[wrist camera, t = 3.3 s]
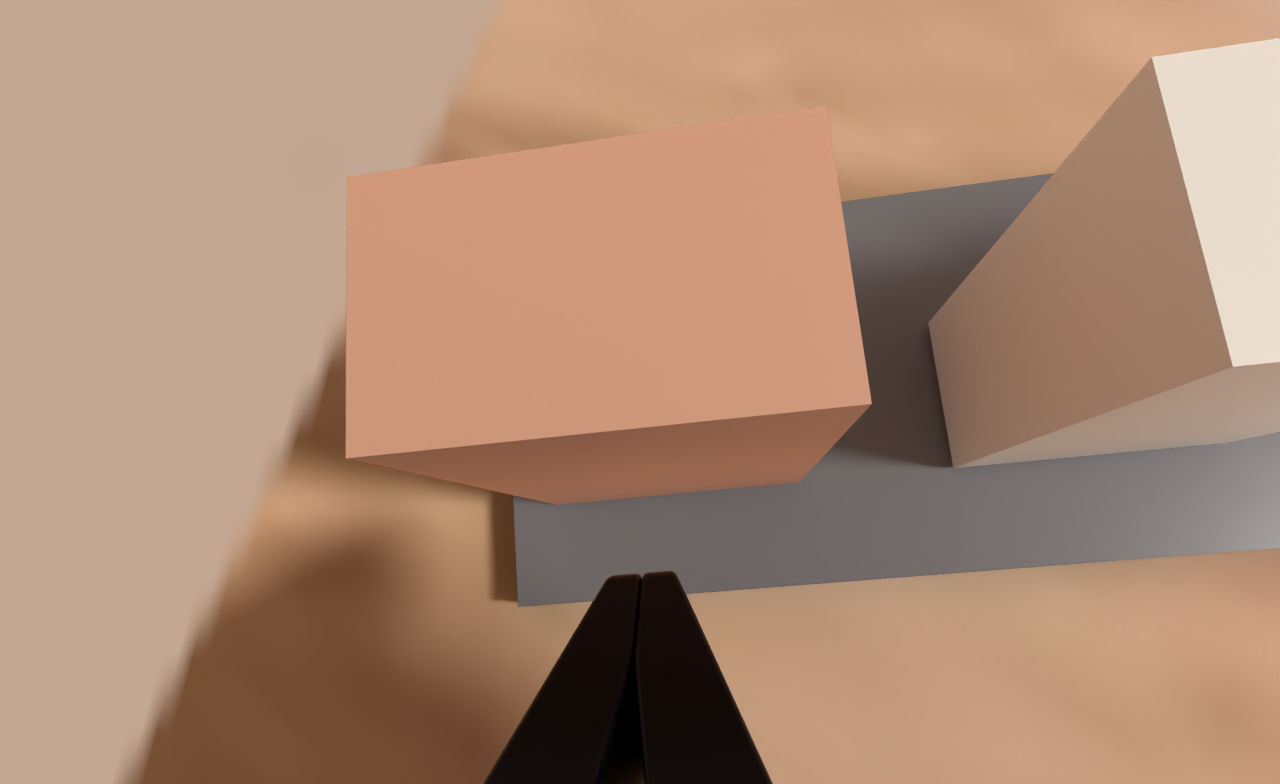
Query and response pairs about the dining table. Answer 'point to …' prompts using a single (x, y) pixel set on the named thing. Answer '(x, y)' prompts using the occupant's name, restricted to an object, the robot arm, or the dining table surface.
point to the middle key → (1132, 280)
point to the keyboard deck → (911, 462)
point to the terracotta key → (607, 314)
